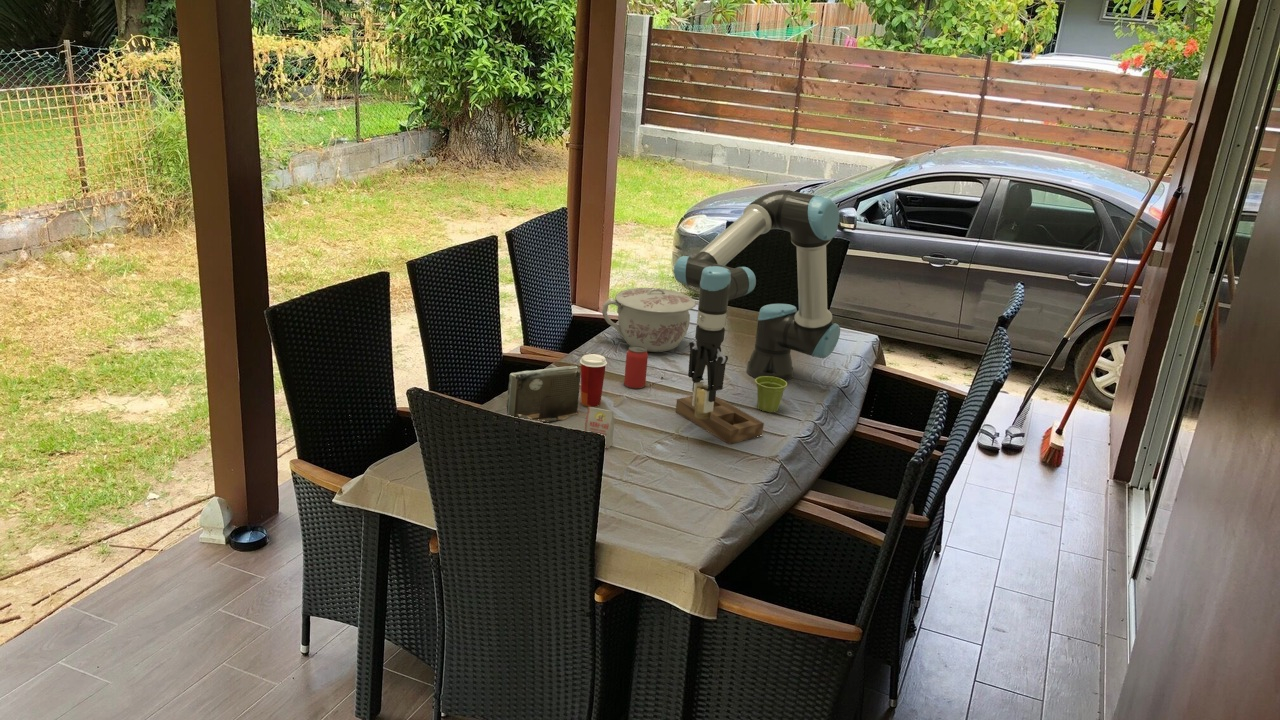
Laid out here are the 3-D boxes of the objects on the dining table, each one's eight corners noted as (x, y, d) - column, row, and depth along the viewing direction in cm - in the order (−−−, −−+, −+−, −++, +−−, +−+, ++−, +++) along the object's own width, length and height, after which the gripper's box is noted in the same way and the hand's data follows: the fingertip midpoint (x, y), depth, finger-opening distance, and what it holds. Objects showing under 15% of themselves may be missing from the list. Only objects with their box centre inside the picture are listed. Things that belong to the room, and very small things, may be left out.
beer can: (642, 390, 294) (646, 353, 290) (621, 387, 295) (624, 350, 291) (647, 383, 300) (650, 346, 296) (626, 380, 301) (629, 343, 297)
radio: (574, 406, 279) (577, 357, 274) (589, 417, 273) (592, 367, 267) (500, 418, 267) (501, 367, 262) (513, 430, 260) (515, 378, 255)
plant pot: (763, 416, 283) (767, 389, 280) (745, 404, 290) (749, 377, 287) (789, 413, 287) (793, 385, 284) (771, 401, 295) (775, 374, 292)
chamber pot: (705, 345, 338) (711, 288, 331) (664, 366, 316) (670, 305, 309) (638, 327, 351) (642, 272, 344) (594, 345, 329) (598, 286, 322)
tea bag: (588, 438, 259) (590, 404, 256) (612, 443, 257) (615, 408, 254) (583, 444, 256) (586, 409, 252) (608, 448, 254) (610, 413, 251)
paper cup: (607, 401, 284) (611, 356, 279) (598, 410, 277) (601, 364, 273) (583, 396, 286) (585, 351, 282) (572, 404, 280) (575, 359, 275)
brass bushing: (703, 411, 265) (706, 383, 262) (714, 417, 262) (717, 389, 259) (691, 414, 262) (693, 386, 259) (701, 420, 259) (704, 392, 256)
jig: (707, 405, 288) (708, 392, 286) (762, 436, 270) (763, 422, 268) (675, 411, 281) (676, 399, 279) (729, 444, 263) (730, 430, 261)
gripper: (679, 318, 257) (672, 399, 265) (721, 338, 244) (712, 422, 252) (701, 314, 261) (693, 394, 269) (743, 334, 248) (733, 417, 257)
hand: (702, 408), depth 261 cm, fingers closed on brass bushing, 4 cm apart
